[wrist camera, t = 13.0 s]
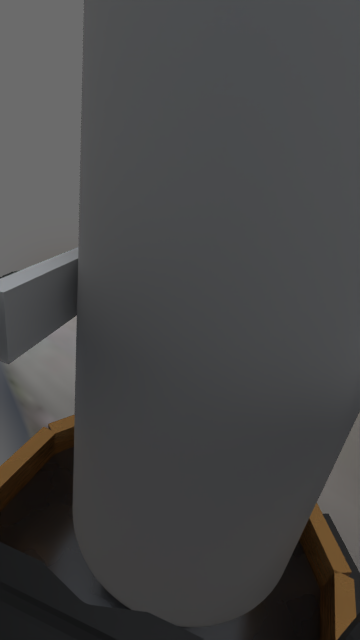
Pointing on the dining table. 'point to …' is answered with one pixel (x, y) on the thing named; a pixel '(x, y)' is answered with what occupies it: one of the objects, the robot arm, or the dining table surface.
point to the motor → (71, 568)
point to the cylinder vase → (213, 292)
